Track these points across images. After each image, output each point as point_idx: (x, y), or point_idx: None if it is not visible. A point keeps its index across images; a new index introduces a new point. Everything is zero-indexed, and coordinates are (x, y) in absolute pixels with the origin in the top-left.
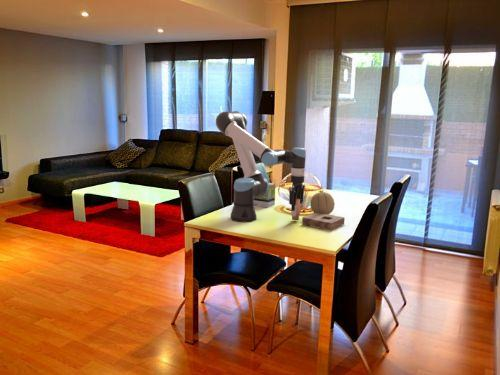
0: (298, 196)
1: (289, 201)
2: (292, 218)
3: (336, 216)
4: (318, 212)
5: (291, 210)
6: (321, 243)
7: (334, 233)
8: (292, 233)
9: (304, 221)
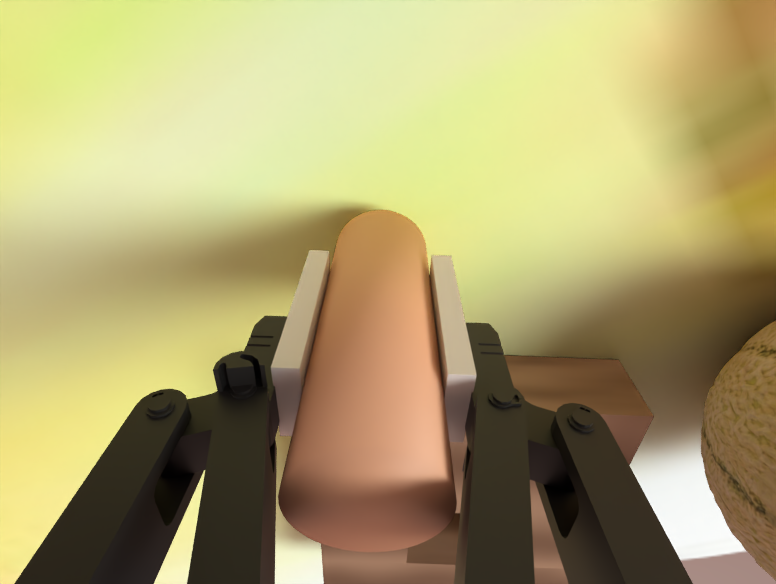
0: (458, 573)
1: (111, 445)
2: (337, 242)
3: (559, 566)
4: (706, 403)
5: (294, 297)
6: None
7: (284, 560)
8: (12, 402)
9: None
